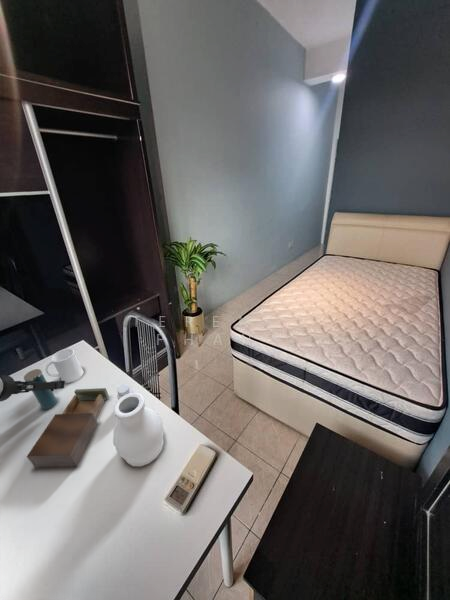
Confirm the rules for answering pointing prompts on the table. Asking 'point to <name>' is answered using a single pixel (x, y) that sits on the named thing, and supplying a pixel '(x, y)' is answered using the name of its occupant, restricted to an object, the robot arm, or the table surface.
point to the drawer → (87, 406)
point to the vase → (137, 430)
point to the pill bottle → (123, 390)
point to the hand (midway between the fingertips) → (45, 385)
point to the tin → (43, 396)
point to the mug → (66, 365)
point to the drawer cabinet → (63, 441)
